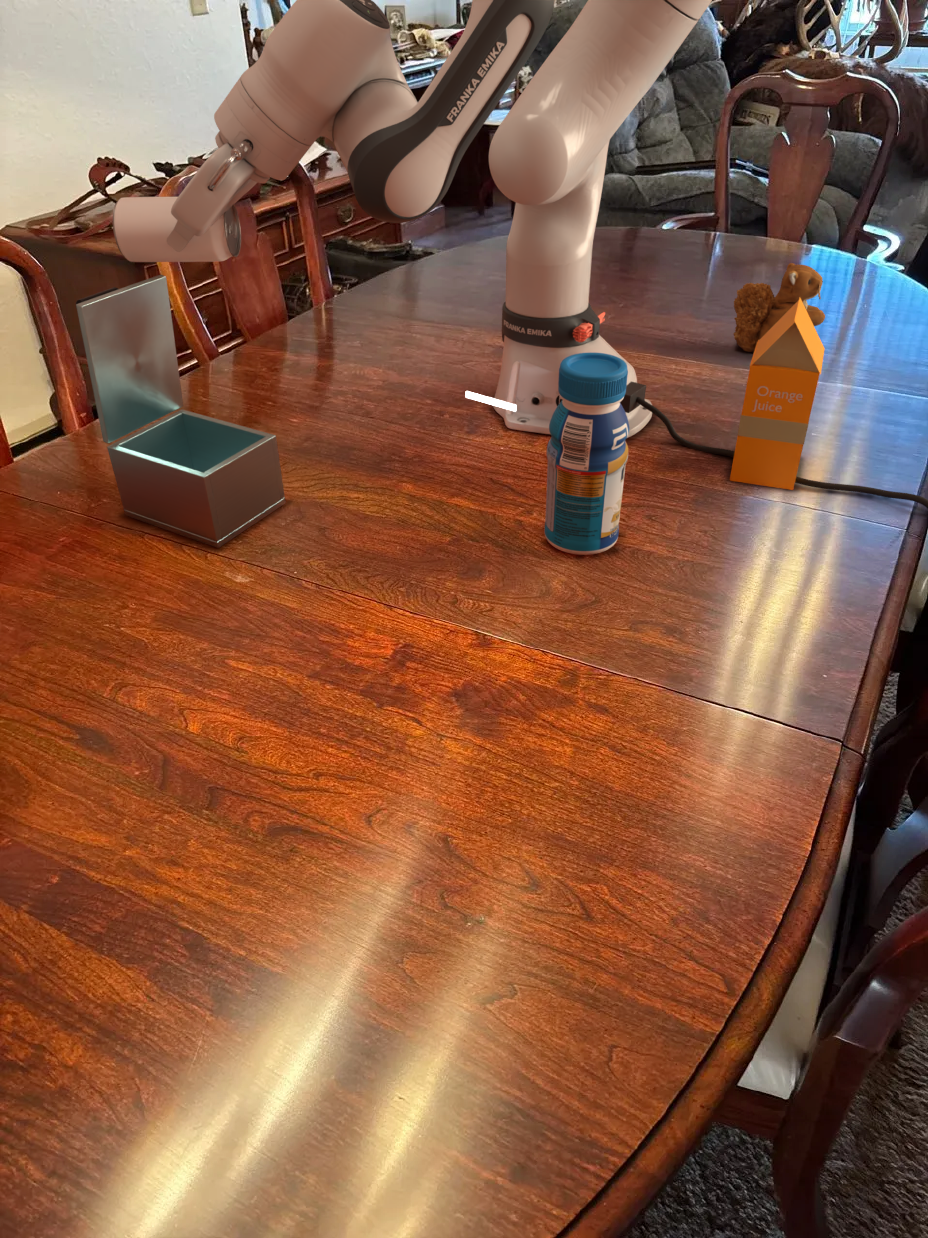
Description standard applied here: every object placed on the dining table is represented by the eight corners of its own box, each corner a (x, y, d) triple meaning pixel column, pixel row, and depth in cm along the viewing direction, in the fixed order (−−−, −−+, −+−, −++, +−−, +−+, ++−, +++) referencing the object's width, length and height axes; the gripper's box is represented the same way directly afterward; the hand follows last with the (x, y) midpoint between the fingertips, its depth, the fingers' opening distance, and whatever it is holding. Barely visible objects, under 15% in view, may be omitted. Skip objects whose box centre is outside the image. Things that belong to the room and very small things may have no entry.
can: (140, 258, 104) (245, 257, 103) (118, 265, 98) (229, 264, 97) (130, 195, 101) (237, 194, 100) (106, 198, 95) (220, 197, 94)
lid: (166, 275, 100) (131, 264, 102) (81, 306, 92) (45, 293, 94) (183, 406, 110) (151, 393, 112) (108, 443, 102) (75, 429, 104)
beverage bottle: (529, 527, 104) (535, 355, 92) (595, 512, 107) (609, 342, 95) (565, 565, 98) (576, 385, 86) (633, 547, 100) (654, 371, 89)
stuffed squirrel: (814, 365, 142) (834, 278, 134) (721, 355, 146) (734, 269, 138) (818, 344, 149) (836, 259, 141) (729, 334, 153) (742, 252, 145)
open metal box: (286, 503, 109) (276, 434, 104) (218, 548, 101) (203, 477, 96) (195, 474, 116) (182, 408, 110) (125, 515, 108) (106, 446, 102)
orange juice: (728, 480, 112) (757, 317, 101) (737, 449, 119) (765, 293, 107) (794, 490, 110) (832, 324, 98) (800, 458, 117) (836, 299, 105)
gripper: (262, 179, 86) (180, 286, 92) (303, 140, 102) (231, 233, 109) (206, 126, 84) (126, 240, 90) (257, 94, 100) (187, 192, 106)
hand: (184, 235), depth 100 cm, fingers closed on can, 6 cm apart
